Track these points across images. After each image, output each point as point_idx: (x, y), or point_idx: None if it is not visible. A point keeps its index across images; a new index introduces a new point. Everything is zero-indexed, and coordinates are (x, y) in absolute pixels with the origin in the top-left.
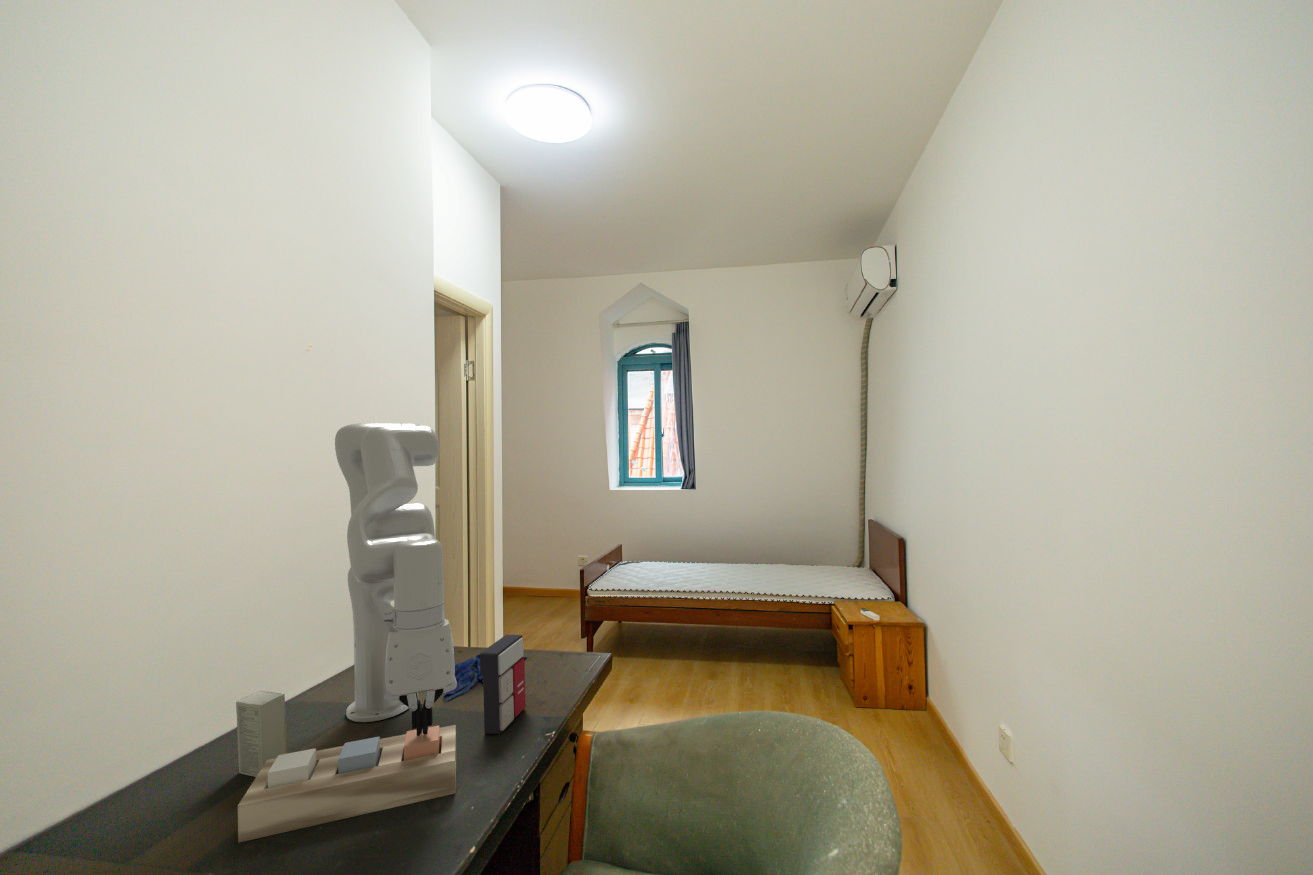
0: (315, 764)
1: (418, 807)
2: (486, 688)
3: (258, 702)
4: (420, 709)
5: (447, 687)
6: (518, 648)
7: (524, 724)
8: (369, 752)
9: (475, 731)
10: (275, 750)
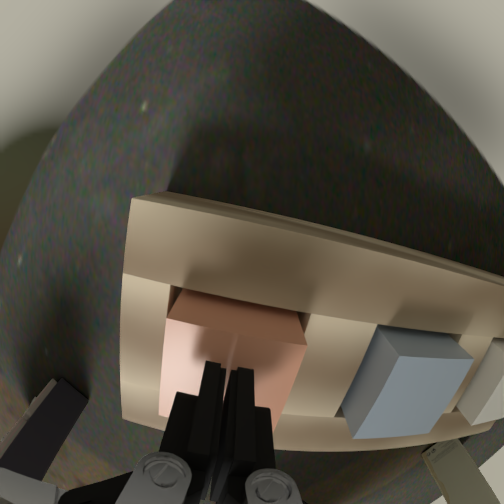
0: (459, 399)
1: (265, 184)
2: (38, 465)
3: None
4: (225, 468)
5: (32, 502)
6: None
7: (24, 374)
8: (413, 359)
9: (108, 418)
10: (450, 463)
